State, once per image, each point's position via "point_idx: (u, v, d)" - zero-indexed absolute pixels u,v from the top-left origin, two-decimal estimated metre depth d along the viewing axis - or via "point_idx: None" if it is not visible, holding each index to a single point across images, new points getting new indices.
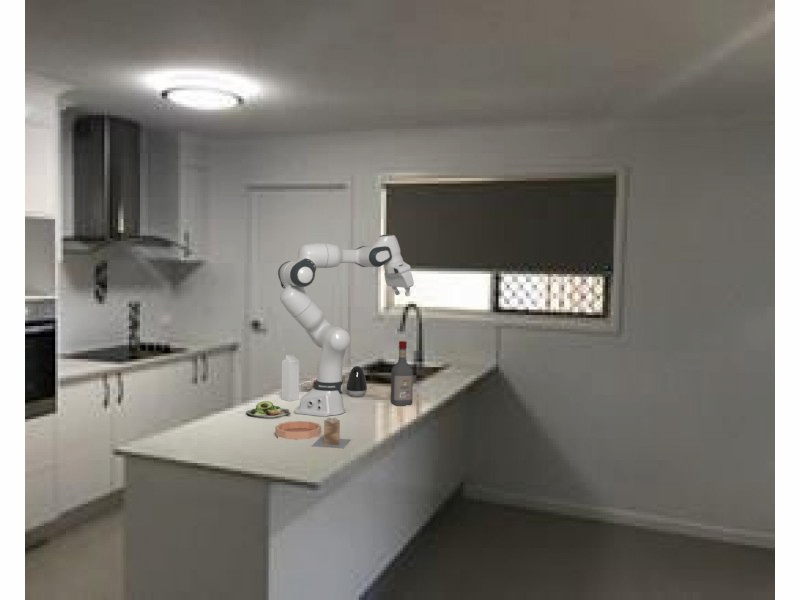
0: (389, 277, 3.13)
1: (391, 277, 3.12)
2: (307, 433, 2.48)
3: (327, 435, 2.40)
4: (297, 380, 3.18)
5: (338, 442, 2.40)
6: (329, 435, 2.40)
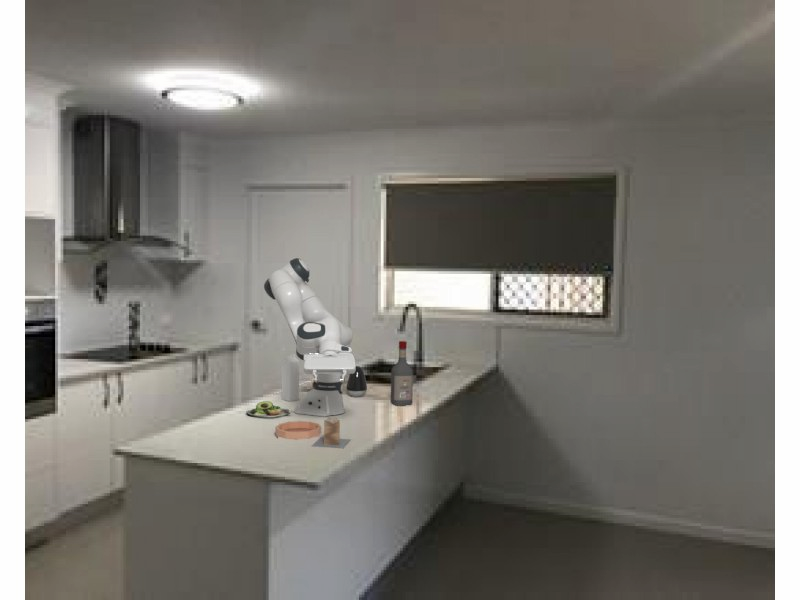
0: (316, 359, 2.58)
1: (321, 359, 2.58)
2: (307, 433, 2.48)
3: (327, 435, 2.40)
4: (297, 380, 3.18)
5: (338, 442, 2.40)
6: (329, 435, 2.40)
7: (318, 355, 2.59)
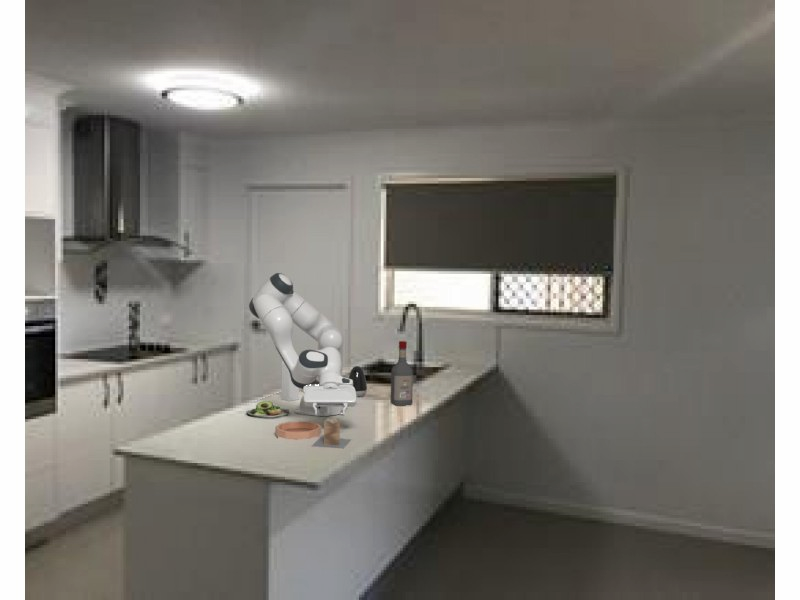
0: (316, 392, 2.52)
1: (321, 391, 2.52)
2: (307, 433, 2.48)
3: (327, 435, 2.40)
4: None
5: (338, 442, 2.40)
6: (329, 435, 2.40)
7: (318, 387, 2.53)
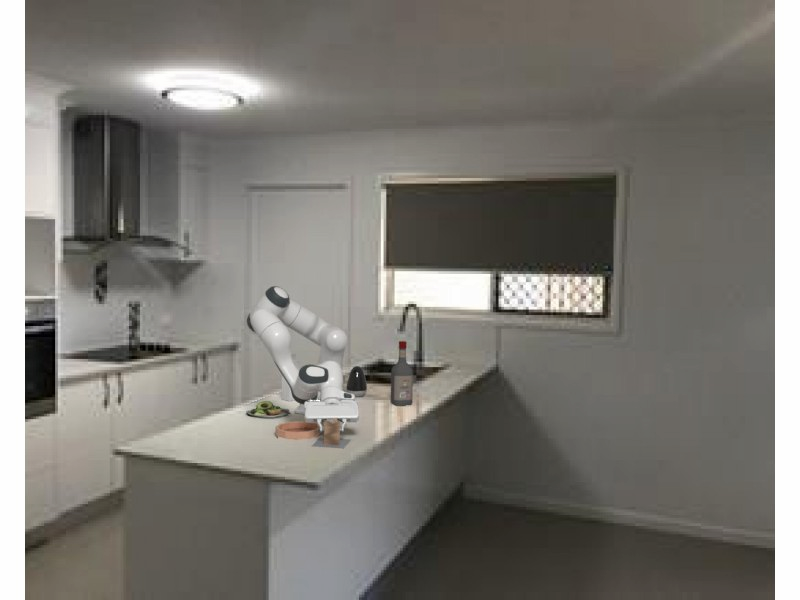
0: (317, 407, 2.46)
1: (322, 407, 2.47)
2: (307, 433, 2.48)
3: (327, 435, 2.40)
4: None
5: (338, 442, 2.40)
6: (329, 435, 2.40)
7: (319, 403, 2.47)
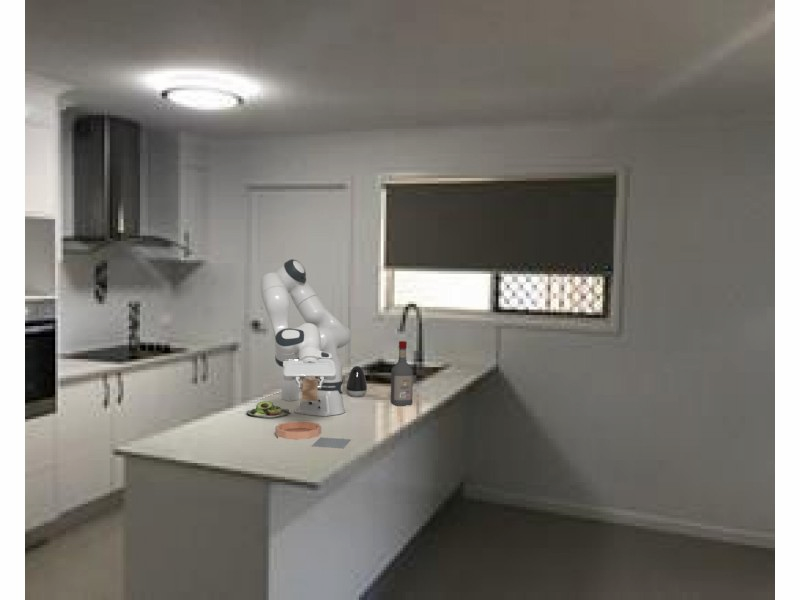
0: (296, 366, 2.55)
1: (301, 366, 2.55)
2: (307, 433, 2.48)
3: (305, 392, 2.48)
4: None
5: (316, 398, 2.49)
6: (307, 391, 2.48)
7: (298, 361, 2.56)
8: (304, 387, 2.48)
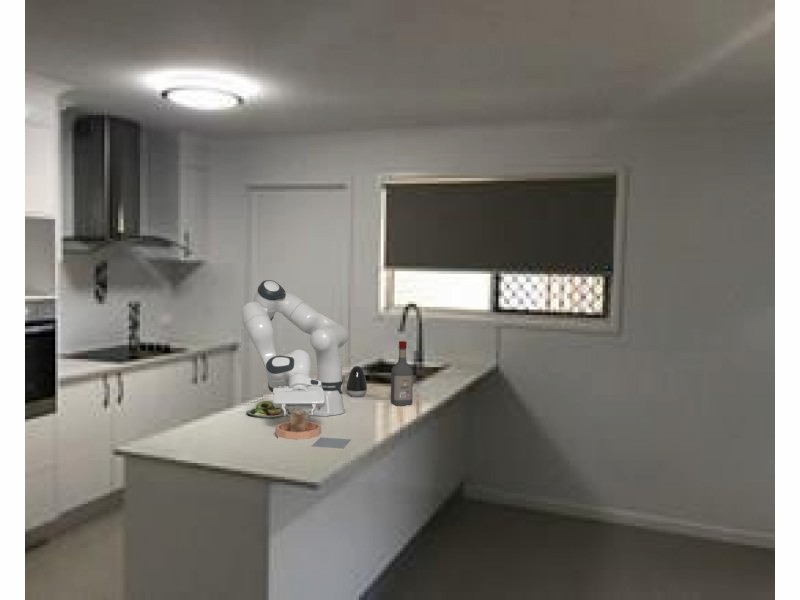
0: (285, 393, 2.59)
1: (290, 393, 2.59)
2: (307, 433, 2.48)
3: (293, 426, 2.52)
4: None
5: None
6: (295, 426, 2.52)
7: (287, 389, 2.60)
8: (292, 421, 2.52)
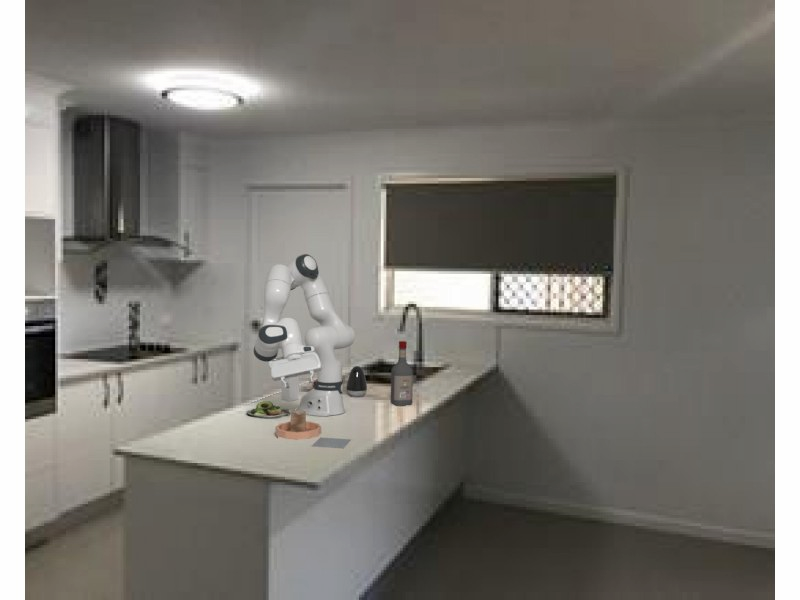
0: (281, 365, 2.63)
1: (286, 364, 2.63)
2: (307, 433, 2.48)
3: (293, 426, 2.52)
4: (297, 380, 3.18)
5: None
6: (295, 426, 2.52)
7: (283, 360, 2.64)
8: (292, 421, 2.52)
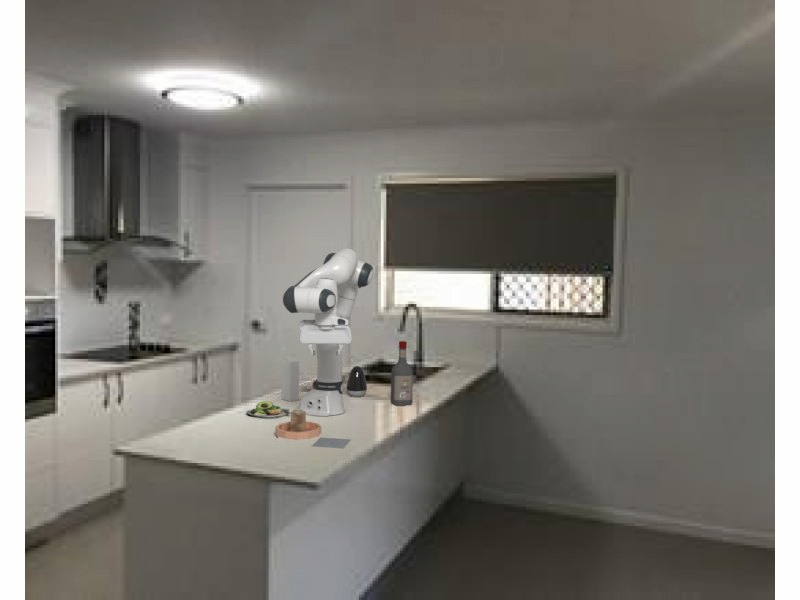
0: (312, 332, 2.54)
1: (317, 331, 2.54)
2: (307, 433, 2.48)
3: (293, 426, 2.52)
4: (297, 380, 3.18)
5: None
6: (295, 426, 2.52)
7: (314, 327, 2.54)
8: (292, 421, 2.52)
